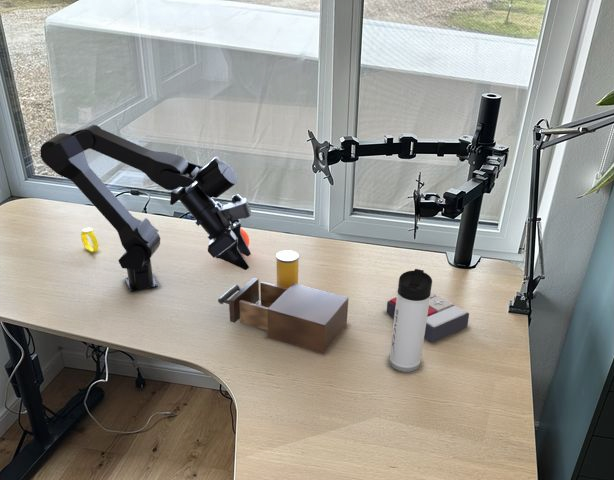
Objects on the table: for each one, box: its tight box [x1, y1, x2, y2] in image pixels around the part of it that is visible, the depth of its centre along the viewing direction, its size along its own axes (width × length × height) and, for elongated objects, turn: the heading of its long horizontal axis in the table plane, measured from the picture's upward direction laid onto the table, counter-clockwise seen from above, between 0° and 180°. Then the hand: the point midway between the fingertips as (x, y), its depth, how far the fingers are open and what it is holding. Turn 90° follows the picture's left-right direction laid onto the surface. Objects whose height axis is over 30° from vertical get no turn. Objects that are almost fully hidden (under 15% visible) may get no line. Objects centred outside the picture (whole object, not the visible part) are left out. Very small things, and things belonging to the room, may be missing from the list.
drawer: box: [217, 277, 288, 331], centre depth 145 cm, size 16×11×6 cm
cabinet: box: [267, 283, 349, 355], centre depth 140 cm, size 13×12×7 cm
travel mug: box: [388, 268, 433, 373], centre depth 128 cm, size 6×7×20 cm
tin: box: [275, 249, 300, 288], centre depth 152 cm, size 5×5×10 cm
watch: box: [80, 227, 100, 254], centre depth 169 cm, size 6×3×6 cm, turn 46°
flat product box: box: [386, 291, 470, 344], centre depth 146 cm, size 11×4×15 cm
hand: (248, 261), depth 149 cm, fingers open, 9 cm apart
